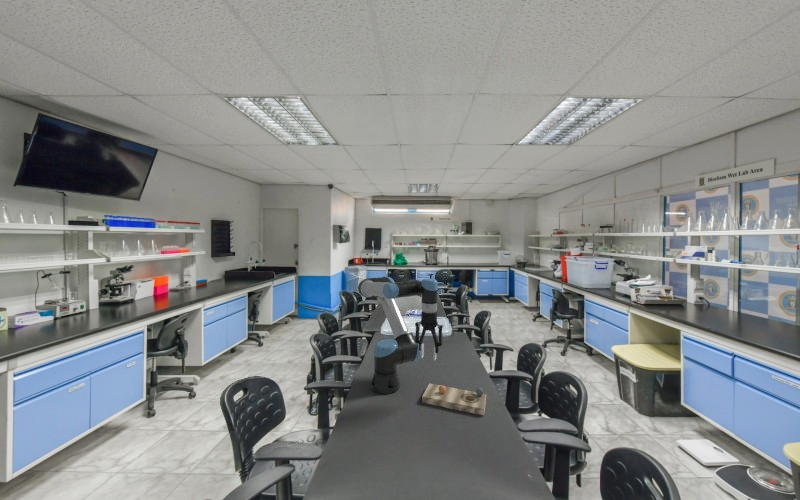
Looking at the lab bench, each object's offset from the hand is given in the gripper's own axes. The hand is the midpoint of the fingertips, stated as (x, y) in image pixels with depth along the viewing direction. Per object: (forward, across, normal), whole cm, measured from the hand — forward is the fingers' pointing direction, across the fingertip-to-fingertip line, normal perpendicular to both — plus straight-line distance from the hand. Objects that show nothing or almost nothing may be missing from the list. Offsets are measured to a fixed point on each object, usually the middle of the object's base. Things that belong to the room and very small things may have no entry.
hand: (428, 358), depth 145 cm
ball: (+14, +7, 0) cm, 16 cm away
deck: (+19, +13, 0) cm, 23 cm away
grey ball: (+14, +24, +4) cm, 28 cm away
